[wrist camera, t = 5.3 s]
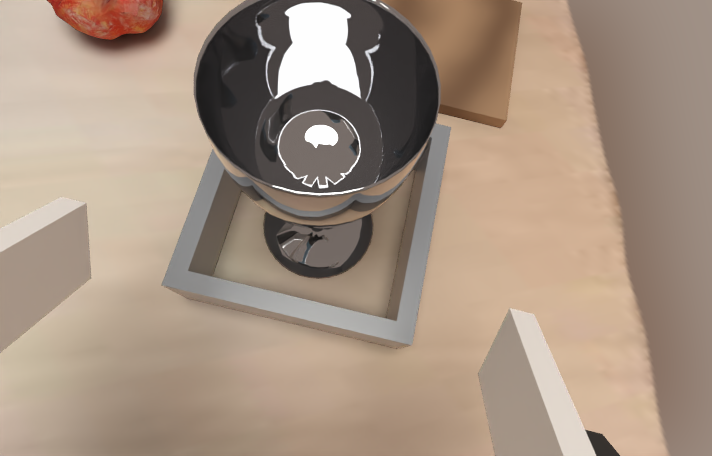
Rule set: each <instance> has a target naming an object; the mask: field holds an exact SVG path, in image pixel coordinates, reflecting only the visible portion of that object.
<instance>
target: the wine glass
mask: <svg viewBox="0 0 712 456" xmlns="http://www.w3.org/2000/svg"><path fill="white" fill-rule="evenodd" d="M194 97H195V102H196V107H197V112H198V115H199V118H200V121H201V123H202V125H203V127H204V130H205V132H206V134H207V136H208V139H209V141H210V143H211V145H212V147H213V149H214V152H215V153H216V155H217V157H218V158H219V160H220V162H221V163H222V165H223V167H224V168H225V170H226V171H227V173H228V174H229V175H230V177H231V178H232V180H233V181H234V183H235V184H236V185H237V186H238V187H239V188H240V189H241V190H242V191H243V192H244V193H245V194H246V195H247V196H248V197H249V198H250V199H251V200H252V201H253V202H254V203H255V204H256V205H257V206H259V207H260V208H262V209H263V210H265V211H266V213H265V217H264V224H263V226H264V236H265V240H266V243H267V246H268V248H269V250H270V252H271V253H272V255H273V256H274V258H275V259H276V260H277V261H278V262H279V263H280V264H281V265H282V266H283V267H285V268H286V269H288V270H289V271H291V272H293V273H295V274H297V275H300V276H304V277H308V278H318V279H319V278H329V277H333V276H337V275H339V274H341V273H344V272H346V271H348V270H349V269H350V268H352V267H353V266H355V265H356V264H357V263H358V262H359V261H360V260H361V259H362V257H363V256H364V254H365V253H366V251H367V249H368V247H369V245H370V243H371V239H372V235H373V220H372V214H371V212H373V211H374V210H376V209H377V208H379V207H380V206H381V205H382V204H384V203H385V202H386V201H387V200H388V199H389V198H390V197H391V196H392V195H393V194H394V193H395V192H396V191H397V190H398V189H399V188H400V187H401V186H402V184H403V183H404V181H405V180H406V178H407V177H408V176H409V174H410V173H411V171H412V170H413V168H414V166H415V165H416V163H417V161H418V160H419V158H420V157H421V154H422V152H423V150H424V148H425V146H426V144H427V142H428V140H429V137H430V135H431V133H432V130H433V128H434V126H435V123H436V120H437V116H438V111H439V107H440V102H441V83H440V78H439V73H438V68H437V65H436V62H435V60H434V57H433V55H432V52H431V50H430V48H429V46H428V45H427V43H426V42H425V40H424V38H423V37H422V35H421V34H420V33H419V32H418V30H417V29H416V28H415V27H414V26H413V25H412V24H411V23H410V21H409V20H408V19H406V18H405V17H404V16H403V15H401V14H400V13H399V12H398V11H397V10H395V9H394V8H393V7H391V6H389V5H387V4H386V3H384V2H382V1H381V0H246V1H244V2H243V3H241V4H240V5H238V6H237V7H235V8H234V9H233V10H231V11H230V12H229V13H228V14H227V15H225V16H224V17H223V18H222V19H221V20H220V21H219V22H218V23H217V24H216V26H215V27H214V28H213V30H212V31H211V33H210V34H209V35H208V37H207V38H206V40H205V42H204V44H203V46H202V49H201V51H200V53H199V55H198V58H197V63H196V67H195V72H194Z"/></svg>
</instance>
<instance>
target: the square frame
mask: <svg viewBox="0 0 712 456" xmlns="http://www.w3.org/2000/svg"><path fill="white" fill-rule="evenodd" d="M450 130H451V127H448V126H444V125H440V124H436V123H435V126H434V128H433V130H432V133H431V135H430V137H429V140H428V142H427V144H426V146H425V148H424V150H423V152H422V154H421V157H420V158H419V160H418V161H417V163H416V165H415V166H414V168H413V170H416V171H415V176H414V181H413V186H412V191H411V196H410V201H409V206H408V211H407V216H406V221H405V226H404V231H403V236H402V241H401V246H400V251H399V256H398V261H397V266H396V271H395V276H394V281H393V286H392V290H391V295H390V300H389V305H388V310H387V315H386V318H381V317H377V316H373V315H369V314H365V313H361V312H357V311H352V310H348V309H344V308H340V307H336V306H332V305H328V304H323V303H319V302H315V301H311V300H307V299H303V298H299V297H294V296H290V295H286V294H282V293H278V292H274V291H269V290H265V289H261V288H257V287H253V286H249V285H245V284H240V283H236V282H232V281H228V280H224V279H220V278H216V277H212V276H213V273H214V270H215V267H216V264H217V261H218V258H219V255H220V252H221V249H222V246H223V243H224V240H225V237H226V234H227V231H228V228H229V226H230V223H231V220H232V217H233V214H234V211H235V208H236V205H237V202H238V199H239V196H240V193H241V189H240V188H239V187H238V186H237V185H236V184H235V183H234V181H233V180H232V178H231V177H230V175H229V174H228V173H227V171H226V170H225V168H224V167H223V165H222V163H221V162H220V160H219V158H218V157H217V155H216V153H215V152H214V149H213V150H212V152H211V155H210V158H209V160H208V163H207V165H206V168H205V171H204V173H203V176H202V179H201V181H200V184H199V187H198V189H197V192H196V195H195V197H194V200H193V203H192V205H191V208H190V211H189V213H188V216H187V219H186V221H185V224H184V227H183V229H182V232H181V235H180V237H179V240H178V243H177V245H176V248H175V251H174V253H173V256H172V258H171V261H170V264H169V266H168V269H167V272H166V274H165V277H164V280H163V282H162V286H164V287H166V288H168V289H170V290H172V291H174V292H176V293H178V294H180V295H182V296H184V297H186V298H188V299H192V300H197V301H201V302H205V303H209V304H213V305H217V306H222V307H226V308H230V309H234V310H238V311H242V312H247V313H251V314H255V315H259V316H263V317H267V318H271V319H276V320H280V321H284V322H288V323H292V324H296V325H301V326H305V327H309V328H313V329H317V330H321V331H326V332H330V333H334V334H338V335H342V336H346V337H351V338H355V339H359V340H363V341H367V342H371V343H375V344H380V345H384V346H388V347H392V348H396V349H397V348H402V347H407V346H411V345H412V343H413V337H414V332H415V326H416V320H417V315H418V309H419V304H420V298H421V292H422V287H423V281H424V276H425V270H426V264H427V259H428V253H429V248H430V242H431V236H432V231H433V225H434V220H435V214H436V208H437V203H438V197H439V192H440V186H441V180H442V175H443V169H444V164H445V158H446V152H447V147H448V141H449V136H450Z"/></svg>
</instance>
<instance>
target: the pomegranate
mask: <svg viewBox="0 0 712 456" xmlns="http://www.w3.org/2000/svg"><path fill="white" fill-rule="evenodd" d="M47 1H48V2H49V3H51V5H52V6H53V9H54V11H55V13H56V15H57V16H58V17H59V18H61V19H62V20H64V21H65V22H67V23H68V24H69V25H71V26H72V27H73V28H75V29H76V30H78V31H81V32H83V33H85V34H87V35H90V36H93V37H97V38H101V39H109V40H112V39H115V38H117V37H119V36H121V35H123V34H128V33H143V32H145V31H147V30H148V29H150V28H151V27H152V26H153V24H154V23H155V22H156V21H157V20H158V19H159V17H160V15H161V13H162V6H163V0H47Z"/></svg>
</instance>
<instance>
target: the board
mask: <svg viewBox="0 0 712 456" xmlns="http://www.w3.org/2000/svg"><path fill="white" fill-rule="evenodd" d="M381 1H382V2H384V3H386V4H387V5H389V6H391V7H393V8H394V9H395V10H397V11H398V12H399V13H400V14H401V15H403V16H404V17H405V18H406V19H408V20H409V21H410V23H411V24H412V25H413V26H414V27H415V28H416V29H417V30H418V32H419V33H420V34H421V35H422V37H423V38H424V40H425V42H426V43H427V45H428V46H429V48H430V50H431V52H432V55H433V57H434V60H435V62H436V65H437V68H438V73H439V78H440V83H441V102H440V107H439V111H438V112H439V113H443V114H447V115H451V116H455V117H459V118H463V119H467V120H471V121H475V122H479V123H483V124H487V125H491V126H495V127H500V128H501V127H502V126H503V124H504V123H505V122H506V121H507V113H508V106H509V98H510V90H511V83H512V75H513V68H514V60H515V52H516V45H517V37H518V30H519V22H520V15H521V7H522V3H521V2H517V1H513V0H381Z"/></svg>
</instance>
